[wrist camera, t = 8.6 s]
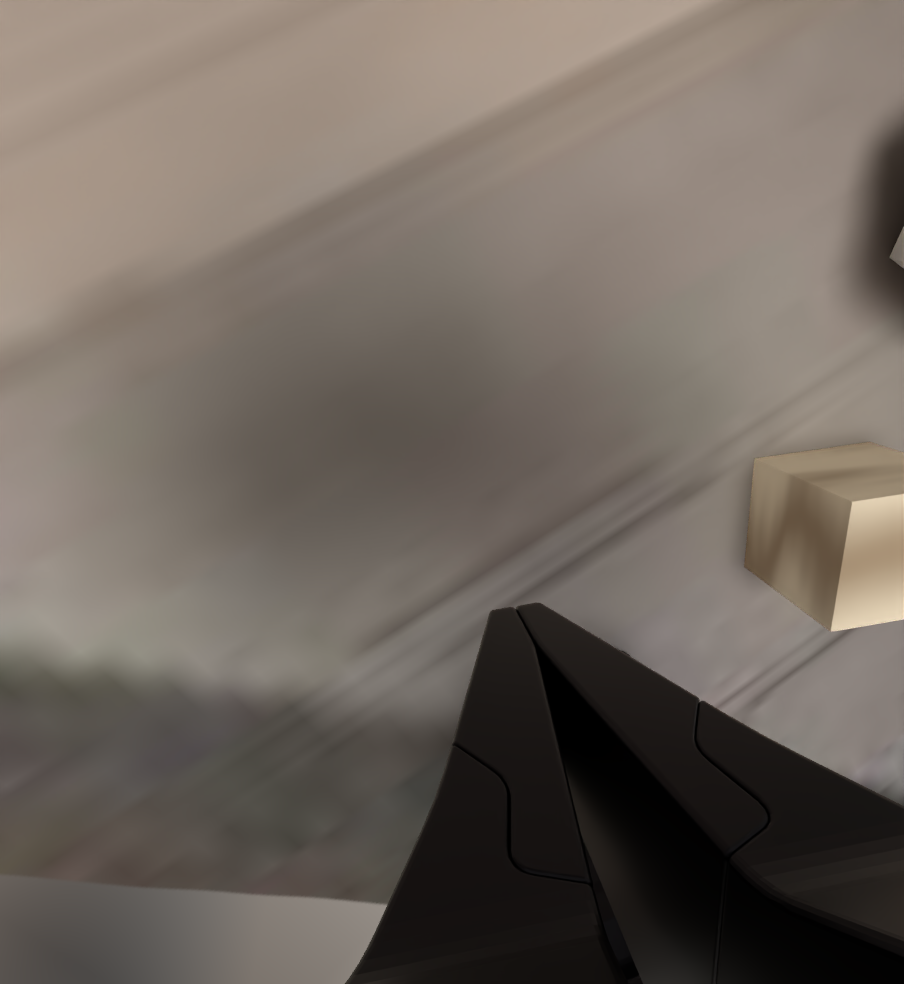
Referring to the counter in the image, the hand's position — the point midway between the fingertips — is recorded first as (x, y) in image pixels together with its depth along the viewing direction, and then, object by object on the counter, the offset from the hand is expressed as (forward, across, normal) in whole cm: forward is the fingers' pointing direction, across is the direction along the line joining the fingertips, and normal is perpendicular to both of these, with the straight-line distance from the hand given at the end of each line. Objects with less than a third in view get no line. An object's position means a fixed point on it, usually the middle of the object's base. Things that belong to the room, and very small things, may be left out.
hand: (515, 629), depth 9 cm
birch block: (+12, -15, +5) cm, 20 cm away
